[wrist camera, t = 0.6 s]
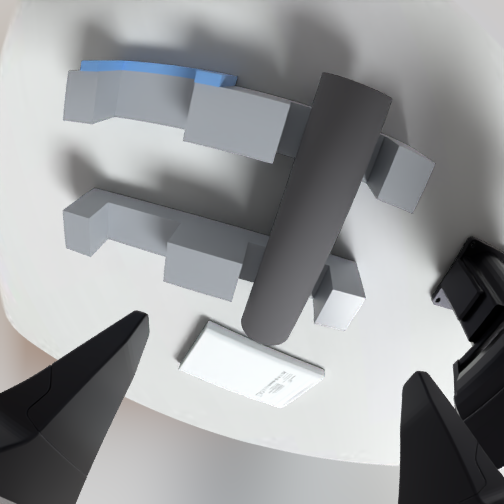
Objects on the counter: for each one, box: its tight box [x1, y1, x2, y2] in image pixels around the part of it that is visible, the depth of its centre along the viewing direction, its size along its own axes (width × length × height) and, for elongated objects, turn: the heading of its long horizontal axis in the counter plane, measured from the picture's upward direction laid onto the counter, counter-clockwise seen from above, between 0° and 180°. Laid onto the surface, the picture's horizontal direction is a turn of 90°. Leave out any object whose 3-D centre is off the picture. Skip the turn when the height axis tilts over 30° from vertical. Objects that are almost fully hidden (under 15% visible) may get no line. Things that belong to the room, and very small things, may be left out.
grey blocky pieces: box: [63, 60, 435, 331], centre depth 17 cm, size 20×13×4 cm, turn 76°
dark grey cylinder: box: [241, 73, 392, 345], centre depth 16 cm, size 4×16×4 cm, turn 166°
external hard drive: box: [179, 320, 325, 408], centre depth 29 cm, size 2×8×12 cm
